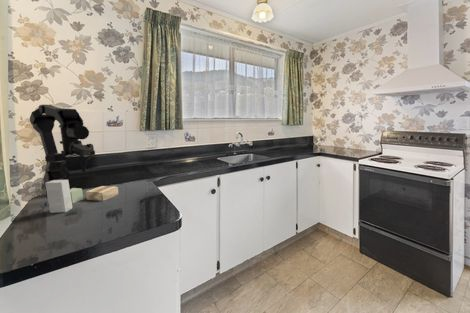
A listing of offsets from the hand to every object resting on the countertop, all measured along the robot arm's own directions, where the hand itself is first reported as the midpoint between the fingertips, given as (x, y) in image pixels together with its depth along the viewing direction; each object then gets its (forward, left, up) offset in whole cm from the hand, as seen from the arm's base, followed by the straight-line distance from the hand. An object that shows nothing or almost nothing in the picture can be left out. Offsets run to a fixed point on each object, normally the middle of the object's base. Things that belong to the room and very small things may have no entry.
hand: (74, 174), depth 99 cm
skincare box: (+5, -11, -12) cm, 17 cm away
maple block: (+8, +6, -12) cm, 16 cm away
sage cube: (-1, -1, -12) cm, 12 cm away
